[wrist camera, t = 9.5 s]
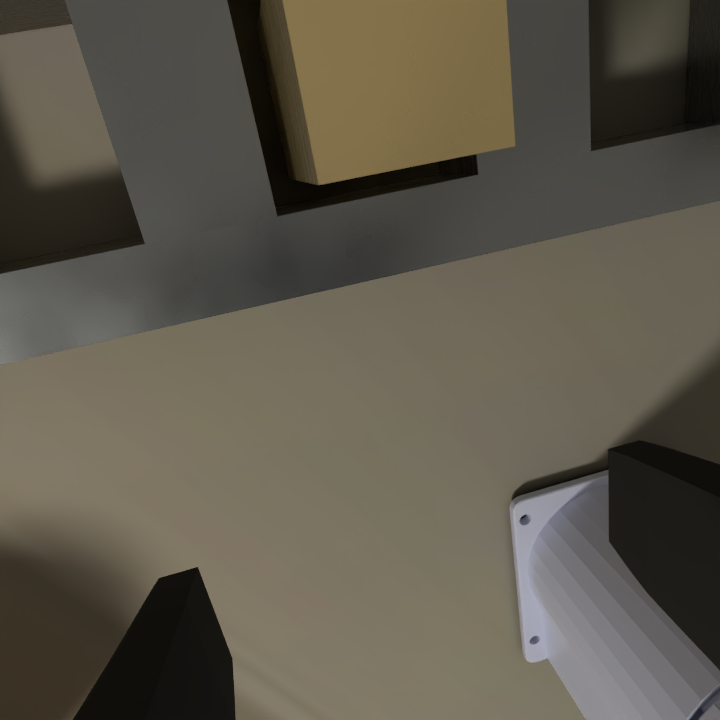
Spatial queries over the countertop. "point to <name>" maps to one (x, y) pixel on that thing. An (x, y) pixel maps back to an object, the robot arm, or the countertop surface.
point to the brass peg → (386, 83)
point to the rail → (336, 213)
